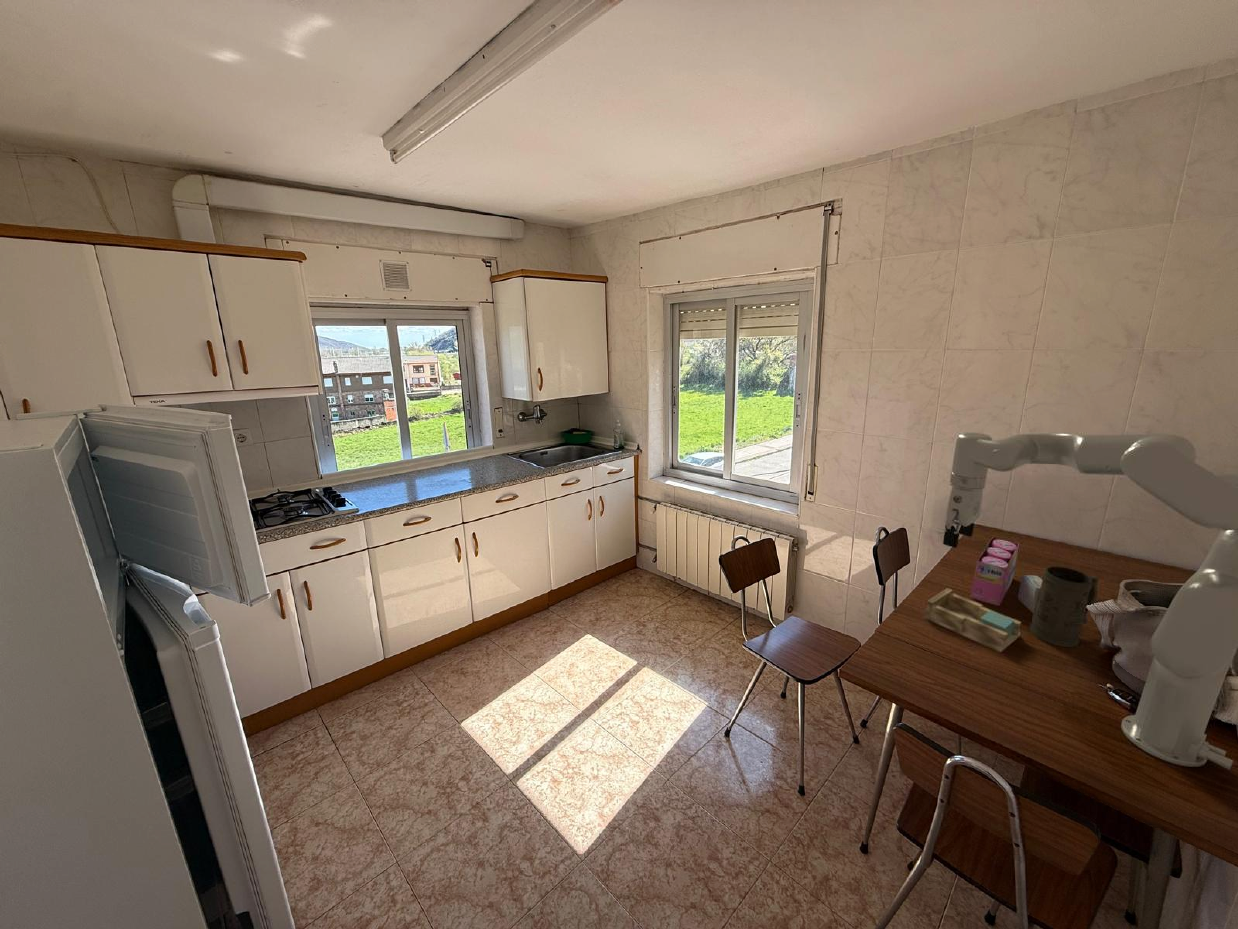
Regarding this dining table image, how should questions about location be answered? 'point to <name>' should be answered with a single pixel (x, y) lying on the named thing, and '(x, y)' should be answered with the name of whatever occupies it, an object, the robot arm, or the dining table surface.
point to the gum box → (994, 571)
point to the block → (998, 622)
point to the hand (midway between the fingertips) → (957, 540)
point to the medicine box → (1029, 590)
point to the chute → (968, 620)
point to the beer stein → (1063, 605)
